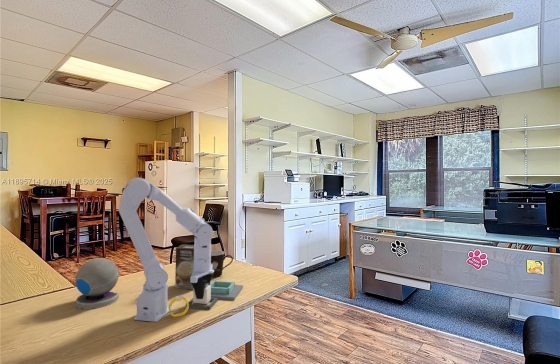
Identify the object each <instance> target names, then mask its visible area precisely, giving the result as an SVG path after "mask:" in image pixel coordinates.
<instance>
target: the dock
mask: <svg viewBox="0 0 560 364" xmlns="http://www.w3.org/2000/svg"><path fill="white" fill-rule="evenodd" d="M210 286H211V297H212V298H218V300H225V301H226V300H227V301H235V300H236V298H237V297H238V295H239V294H240V293H241V292H242V290H243V289H244V285H243V284H236V282H235V281H225V280H213V281H212V282H210Z"/></svg>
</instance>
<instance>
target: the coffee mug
mask: <svg viewBox="0 0 560 364" xmlns="http://www.w3.org/2000/svg"><path fill="white" fill-rule="evenodd" d="M228 257H230V258H231V261H230V262H228V264H226V265H225V266H224V261H225V260H226V258H228ZM233 260H234V258H233V256H232V255H231V254H227V255H225V251H223V250H211V264H213V269H212V270H214V272H213V273H214V275H213V277H212V279H213V278H219V277H221V276H223V270H224V269H225V268H227V267H229V266H230V265H231V264H232V263H233Z"/></svg>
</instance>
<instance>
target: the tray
mask: <svg viewBox="0 0 560 364" xmlns="http://www.w3.org/2000/svg"><path fill="white" fill-rule="evenodd" d="M218 300H219V299H218V298H212V297H211V300H210V301H209V302H210V303H209V304H199V303H193V297H192V298H191V299H190V300H189V301H188V303H189V308H188V309H199V310H200V309H201V310H211V309H212V308H213V307H214V306H215V305H216V303H217V302H218ZM186 307H187V303H186V304H185V308H186Z"/></svg>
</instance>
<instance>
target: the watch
mask: <svg viewBox="0 0 560 364" xmlns="http://www.w3.org/2000/svg"><path fill="white" fill-rule="evenodd" d="M181 301H185V302H186V304H187V307H186V306H185V309H184V311H183V312H180V313H175V314H174V313H173V312H172V311H171V310H172V309H171V307H173V305H174V303H176V302H181ZM188 302H189V301H188V300H187V298H186V297H184V295H176V296H174V298H173V300H171V301H170V303H168V307H169V312H168V313H169V314H170V316H172V317H174V318H177V317H182V316H185V315H186V313H187V312H188V311H189V309H190V308H189V303H188Z"/></svg>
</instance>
